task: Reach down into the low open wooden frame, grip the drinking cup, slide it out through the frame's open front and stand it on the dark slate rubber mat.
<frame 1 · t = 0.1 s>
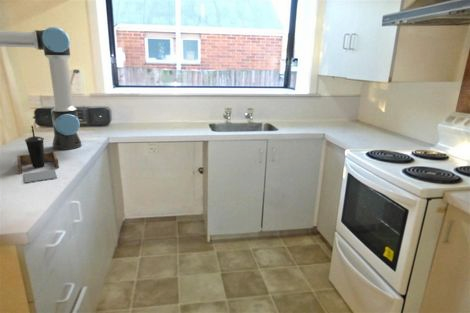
drinking cup: (38, 167, 157), on the worktop
mat: (40, 176, 144), on the worktop
open wooden frame: (38, 166, 157), on the worktop
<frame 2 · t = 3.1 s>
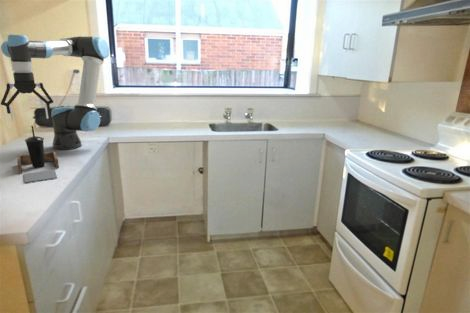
hand: (30, 119, 150), 23 cm above the worktop, tool pointing down, fingers open, 13 cm apart
nothing on the worktop moved.
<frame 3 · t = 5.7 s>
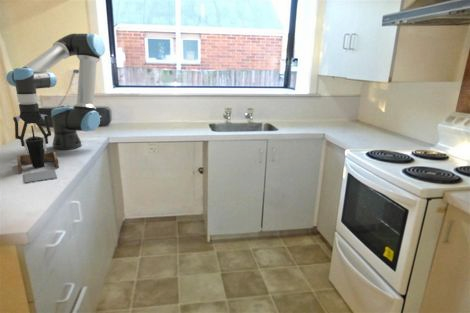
hand: (36, 151, 154), 8 cm above the worktop, tool pointing down, fingers closed on drinking cup, 7 cm apart
drinking cup: (38, 167, 157), on the worktop, touching gripper
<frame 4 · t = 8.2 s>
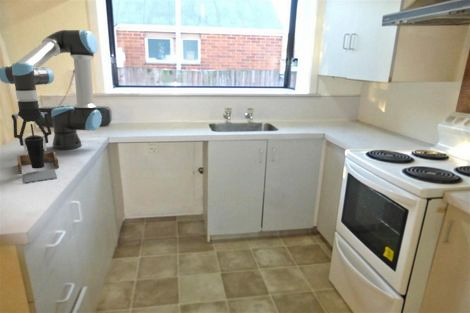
hand: (35, 151, 147), 10 cm above the worktop, tool pointing down, fingers closed on drinking cup, 7 cm apart
drinking cup: (38, 167, 149), point 2 cm above the worktop, touching gripper
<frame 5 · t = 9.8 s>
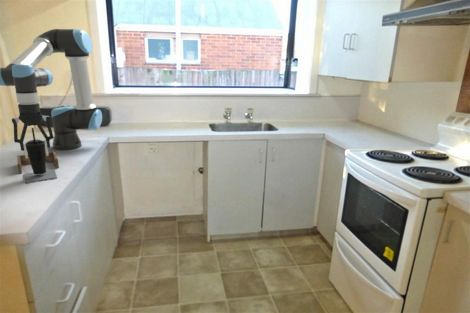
hand: (37, 156, 141), 9 cm above the worktop, tool pointing down, fingers closed on drinking cup, 7 cm apart
drinking cup: (40, 172, 143), point 2 cm above the worktop, touching gripper
when the fingers open (8 cm above the worktop, at t = 10.8 s): drinking cup stays where it is, resting on mat.
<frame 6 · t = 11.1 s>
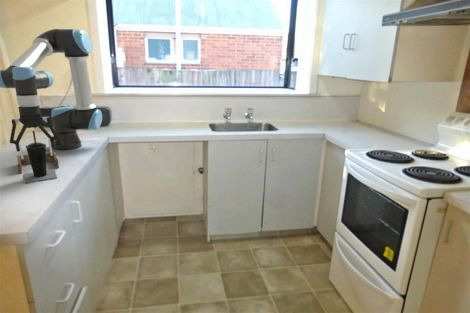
hand: (37, 156, 141), 9 cm above the worktop, tool pointing down, fingers open, 10 cm apart
drinking cup: (40, 175, 144), resting on mat
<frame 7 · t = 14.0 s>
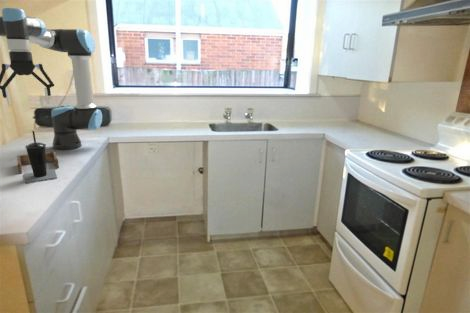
hand: (29, 104, 135), 32 cm above the worktop, tool pointing down, fingers open, 13 cm apart
nothing on the worktop moved.
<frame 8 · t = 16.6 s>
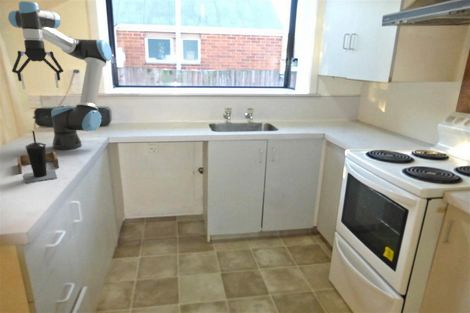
hand: (41, 88, 151), 37 cm above the worktop, tool pointing down, fingers open, 13 cm apart
nothing on the worktop moved.
at the end: drinking cup inside the target area on the mat (0.1 cm from its centre), point 0.4 cm above the mat's base; drinking cup tilted 0°; the gripper is holding nothing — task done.
